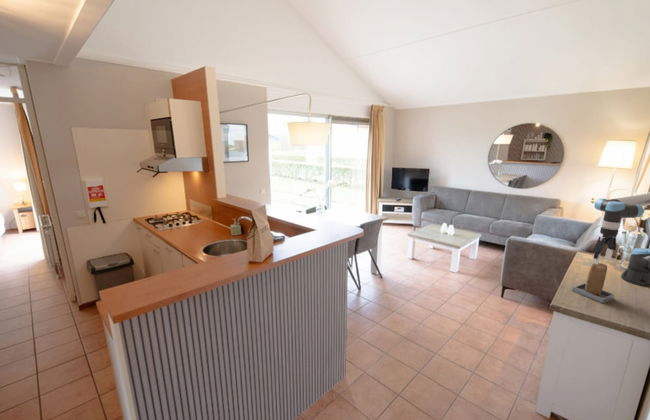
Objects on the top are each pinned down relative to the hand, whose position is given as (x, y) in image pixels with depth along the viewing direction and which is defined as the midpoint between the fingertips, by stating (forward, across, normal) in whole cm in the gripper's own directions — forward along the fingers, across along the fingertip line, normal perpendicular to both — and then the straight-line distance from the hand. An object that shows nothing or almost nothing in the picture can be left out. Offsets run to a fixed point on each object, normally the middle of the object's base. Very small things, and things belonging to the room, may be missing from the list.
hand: (601, 261), depth 177 cm
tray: (+23, 0, 0) cm, 23 cm away
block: (+22, 0, 0) cm, 22 cm away
